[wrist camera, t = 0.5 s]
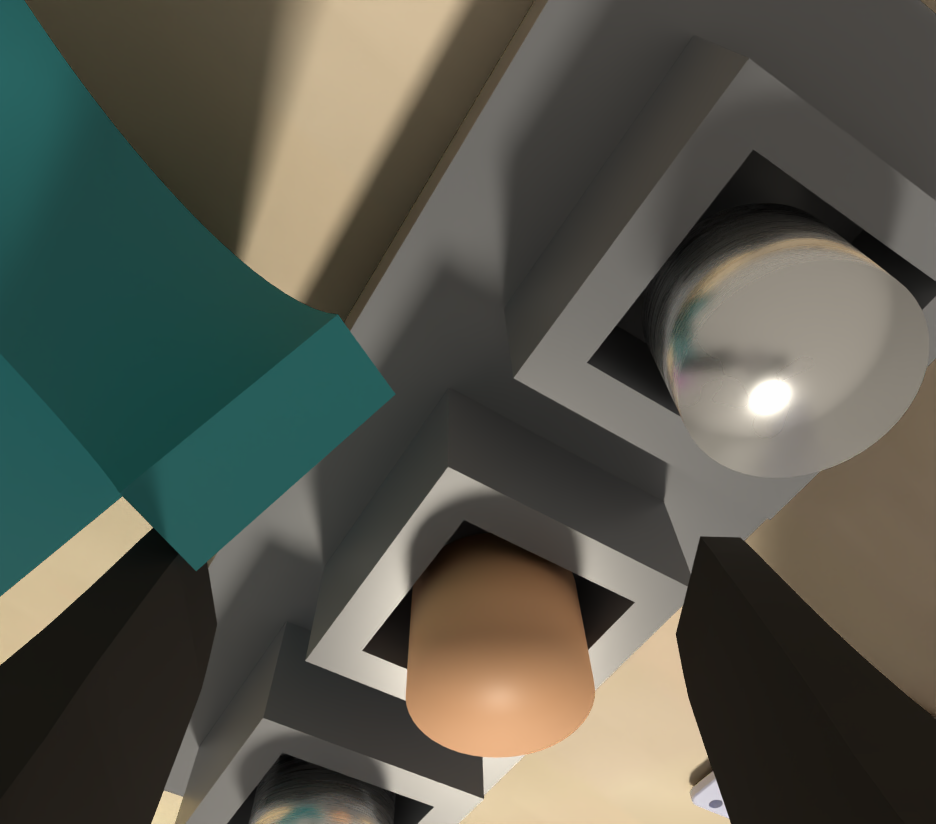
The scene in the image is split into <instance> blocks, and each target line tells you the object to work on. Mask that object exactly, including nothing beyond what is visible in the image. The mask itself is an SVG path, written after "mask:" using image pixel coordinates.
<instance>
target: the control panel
mask: <svg viewBox="0 0 936 824" xmlns="http://www.w3.org/2000/svg"><path fill="white" fill-rule="evenodd" d="M752 203H776V204H784V205H788V206H792V207H796V208H798V209H801V210H803V211H806V212H808V213H809V214H811V215H813V216H814V217H816V218H818V219H819V220H820V221H822V222H823V223H824V224H826V225H827V226H828V227H829V228H831V229H832V230H833V231H835V232H836V233H837V234H838V235H840V236H841V237H842V238H844V239H845V240H846V241H847V242H849V243H850V244H851V245H853V246H854V247H855V248H856V249H858V250H859V251H860V252H862V253H863V254H864V255H865V256H867V257H868V258H869V259H871V260H872V261H873V262H874V263H876V264H877V265H878V266H880V267H881V268H882V269H883V270H885V271H886V272H887V273H889V274H890V275H891V276H893V277H894V278H895V279H896V280H897V281H899V282H900V283H901V284H902V285H903V286H905V287H906V288H907V289H908V290H909V292H910V293H911V294H912V295H913V296H914V298H915V299H916V301H917V302H918V304H919V306H920V308H921V309H922V311H923V314H924V317H925V320H926V323H927V327H928V333H929V357H928V364H927V367H928V366H929V365H930V364H931V363H932V362H933V361H934V360H935V359H936V14H935V13H934V12H933V11H932V10H931V9H929V8H928V7H927V6H926V5H925V4H924V3H923V2H921V1H920V0H534V2H533V4H532V5H531V7H530V9H529V11H528V12H527V14H526V16H525V17H524V19H523V21H522V22H521V24H520V26H519V27H518V29H517V31H516V33H515V34H514V36H513V38H512V39H511V41H510V43H509V44H508V46H507V48H506V49H505V51H504V53H503V55H502V56H501V58H500V60H499V61H498V63H497V65H496V66H495V68H494V70H493V71H492V73H491V75H490V77H489V78H488V80H487V82H486V83H485V85H484V87H483V88H482V90H481V92H480V93H479V95H478V97H477V99H476V100H475V102H474V104H473V105H472V107H471V109H470V110H469V112H468V114H467V115H466V117H465V119H464V120H463V122H462V124H461V126H460V127H459V129H458V131H457V132H456V134H455V136H454V137H453V139H452V141H451V142H450V144H449V146H448V148H447V149H446V151H445V153H444V154H443V156H442V158H441V159H440V161H439V163H438V164H437V166H436V168H435V170H434V171H433V173H432V175H431V176H430V178H429V180H428V181H427V183H426V185H425V186H424V188H423V190H422V192H421V193H420V195H419V197H418V198H417V200H416V202H415V203H414V205H413V207H412V208H411V210H410V212H409V214H408V215H407V217H406V219H405V220H404V222H403V224H402V225H401V227H400V229H399V230H398V232H397V234H396V236H395V237H394V239H393V241H392V242H391V244H390V246H389V247H388V249H387V251H386V252H385V254H384V256H383V258H382V259H381V261H380V263H379V264H378V266H377V268H376V269H375V271H374V273H373V274H372V276H371V278H370V279H369V281H368V283H367V285H366V286H365V288H364V290H363V291H362V293H361V295H360V296H359V298H358V300H357V301H356V303H355V305H354V307H353V308H352V310H351V312H350V313H349V315H348V317H347V318H346V320H345V322H344V324H345V325H346V326H347V328H348V329H349V330H350V332H351V333H352V335H353V336H354V337H355V339H356V340H357V342H358V343H359V344H360V346H361V347H362V348H363V350H364V351H365V353H366V354H367V355H368V357H369V358H370V359H371V361H372V362H373V364H374V365H375V366H376V368H377V369H378V371H379V372H380V373H381V375H382V376H383V377H384V379H385V380H386V382H387V383H388V384H389V386H390V387H391V388H392V390H393V391H394V393H395V395H394V396H393V397H392V398H391V399H390V400H389V401H388V402H386V403H385V404H384V405H383V406H382V407H381V408H380V409H379V410H377V411H376V412H375V413H374V414H373V415H372V416H371V417H370V418H368V419H367V420H366V421H365V422H364V423H363V424H362V425H361V426H359V427H358V428H357V429H356V430H355V431H354V432H353V433H352V434H350V435H349V436H348V437H347V438H346V439H345V440H344V441H343V442H341V443H340V444H339V445H338V446H337V447H336V448H335V449H333V450H332V451H331V452H330V453H329V454H328V455H327V456H326V457H324V458H323V459H322V460H321V461H320V462H319V463H318V464H317V465H315V466H314V467H313V468H312V469H311V470H310V471H309V472H308V473H306V474H305V475H304V476H303V477H302V478H301V479H300V480H299V481H297V482H296V483H295V484H294V485H293V486H292V487H291V488H290V489H288V490H287V491H286V492H285V493H284V494H283V495H282V496H280V497H279V498H278V499H277V500H276V501H275V502H274V503H273V504H271V505H270V506H269V507H268V508H267V509H266V510H265V511H264V512H262V513H261V514H260V515H259V516H258V517H257V518H256V519H255V520H253V521H252V522H251V523H250V524H249V525H248V526H247V527H246V528H244V529H243V530H242V531H241V532H240V533H239V534H238V535H237V536H235V537H234V538H233V539H232V540H231V541H230V542H229V543H228V544H226V545H225V546H224V547H223V548H222V549H221V550H220V551H218V552H217V553H216V554H215V555H214V556H213V557H212V558H211V559H209V560H208V561H207V563H208V570H209V576H210V582H211V588H212V594H213V601H214V607H215V613H216V619H217V628H216V632H215V637H214V641H213V645H212V650H211V654H210V658H209V662H208V666H207V670H206V674H205V678H204V682H203V686H202V690H201V692H200V695H199V698H198V701H197V703H196V706H195V709H194V711H193V714H192V717H191V720H190V722H189V725H188V728H187V730H186V733H185V736H184V738H183V741H182V744H181V746H180V749H179V751H178V754H177V757H176V759H175V762H174V765H173V767H172V770H171V772H170V775H169V778H168V780H167V783H166V786H165V788H164V790H165V791H168V792H171V793H174V794H177V795H180V796H183V800H182V803H181V806H180V809H179V812H178V816H177V819H176V822H175V824H249V820H250V815H251V811H252V807H253V802H254V798H255V794H256V790H257V785H258V783H259V782H260V781H261V780H262V778H263V777H264V776H265V774H266V773H267V772H268V771H269V769H270V768H271V767H272V765H273V764H274V763H275V762H276V760H277V759H278V758H279V757H280V756H283V755H285V754H288V755H291V756H293V757H296V758H299V759H302V760H305V761H307V762H310V763H313V764H316V765H319V766H321V767H324V768H327V769H330V770H333V771H335V772H338V773H341V774H344V775H347V776H349V777H352V778H355V779H358V780H361V781H364V782H366V783H369V784H372V785H375V786H378V787H380V788H383V789H386V790H389V791H392V792H394V793H396V794H395V809H394V824H459V823H460V822H461V821H462V820H463V819H464V818H465V817H466V816H467V815H468V814H469V813H470V812H471V811H472V810H473V809H474V808H475V807H476V806H477V805H478V804H479V803H480V802H482V801H483V800H484V795H485V794H486V793H487V792H488V791H489V790H490V789H491V788H492V787H493V786H494V785H495V784H496V783H497V782H498V781H499V780H500V779H501V778H502V777H503V776H504V775H505V774H506V773H508V772H509V771H510V770H511V769H512V768H513V767H514V766H515V765H516V764H517V763H518V762H519V761H520V760H521V759H522V758H523V757H524V756H525V755H521V756H514V757H500V758H493V757H480V756H472V755H468V754H464V753H460V752H457V751H454V750H451V749H449V748H446V747H444V746H442V745H440V744H438V743H437V742H435V741H433V740H432V739H430V738H429V737H428V736H426V735H425V734H424V733H423V732H422V731H421V730H420V729H419V728H418V727H417V725H416V724H415V723H414V721H413V720H412V718H411V716H410V714H409V712H408V708H407V705H406V682H407V666H408V650H409V635H410V619H411V603H412V590H413V585H414V584H415V582H416V581H417V580H418V578H419V577H420V576H421V575H422V573H423V572H424V571H425V569H426V568H427V567H428V566H429V564H430V563H431V562H432V561H433V559H434V558H435V557H436V555H437V554H438V553H439V552H440V550H441V549H442V548H443V547H444V546H445V545H447V544H449V543H451V542H453V541H455V540H458V539H461V538H464V537H467V536H471V535H475V534H482V533H492V534H494V535H496V536H498V537H500V538H502V539H505V540H507V541H509V542H511V543H513V544H515V545H517V546H519V547H521V548H523V549H525V550H527V551H529V552H532V553H534V554H536V555H538V556H540V557H542V558H544V559H546V560H548V561H550V562H552V563H554V564H557V565H559V566H561V567H563V568H565V569H567V570H569V571H571V572H572V573H573V576H574V579H575V583H576V588H577V593H578V599H579V604H580V609H581V615H582V620H583V625H584V631H585V636H586V641H587V647H588V652H589V657H590V663H591V668H592V673H593V679H594V685H595V690H596V689H597V688H598V687H599V686H600V685H602V684H603V683H604V682H605V681H606V680H607V679H608V678H609V677H610V676H611V675H612V674H613V673H614V672H615V671H616V670H617V669H618V668H619V667H620V666H621V665H622V664H623V663H624V662H625V661H626V660H627V659H628V658H629V657H630V656H631V655H632V654H633V653H634V652H635V651H636V650H637V649H638V648H639V647H641V646H642V645H643V644H644V643H645V642H646V641H647V640H648V639H649V638H650V637H651V636H652V635H653V634H654V633H655V632H656V631H657V630H658V629H659V628H660V627H661V626H662V625H663V624H664V623H665V622H666V621H667V620H668V619H669V618H670V617H671V616H672V615H673V614H674V613H675V612H676V611H677V610H678V609H679V608H681V607H682V606H683V603H684V599H685V595H686V591H687V587H688V583H689V579H690V575H691V571H692V567H693V563H694V559H695V555H696V551H697V547H698V543H699V539H700V536H707V537H740V538H742V539H743V540H744V541H745V540H746V539H747V538H748V537H749V536H750V535H751V534H752V533H753V532H754V531H755V530H756V529H757V528H758V527H759V526H760V525H761V524H762V523H763V522H764V521H765V520H766V519H767V518H768V519H770V520H771V519H772V518H773V517H774V516H775V515H776V514H777V513H778V512H779V511H780V510H781V509H782V508H783V507H784V506H785V505H786V504H787V503H788V502H789V501H790V500H791V499H792V498H793V497H794V496H795V495H796V494H797V493H798V492H800V491H801V490H802V489H803V488H804V487H805V486H806V485H807V484H808V483H809V482H810V481H811V480H812V479H813V478H814V477H815V476H816V475H817V474H818V473H819V472H820V471H819V472H815V473H811V474H807V475H802V476H795V477H786V478H768V477H758V476H752V475H747V474H743V473H740V472H737V471H734V470H732V469H729V468H727V467H725V466H723V465H721V464H719V463H718V462H716V461H715V460H713V459H712V458H710V457H709V456H708V455H707V454H706V453H705V452H704V451H702V450H701V449H700V448H699V446H698V445H697V444H696V443H695V441H694V440H693V439H692V437H691V435H690V434H689V432H688V430H687V428H686V426H685V424H684V422H683V420H682V418H681V416H680V414H679V412H678V409H677V407H676V405H675V403H674V401H673V399H672V397H671V395H670V393H669V390H668V388H667V386H666V384H665V382H664V380H663V378H662V376H661V373H660V371H659V369H658V367H657V365H656V363H655V361H654V359H653V356H652V354H651V352H650V350H649V348H648V345H647V343H646V340H645V337H644V332H643V327H642V305H643V298H644V294H645V290H646V287H647V285H648V284H649V283H650V281H651V280H652V279H653V277H654V276H655V275H656V274H657V272H658V271H659V270H660V268H661V267H662V266H663V265H664V263H665V262H666V261H667V260H668V258H669V257H670V256H671V254H672V253H673V252H674V251H675V249H676V248H677V247H678V245H679V244H680V243H681V242H682V240H683V239H684V238H685V236H686V235H687V234H688V233H689V231H690V230H691V229H692V228H693V226H694V225H695V224H697V223H698V222H700V221H702V220H704V219H705V218H707V217H709V216H711V215H713V214H716V213H718V212H720V211H723V210H725V209H729V208H732V207H736V206H739V205H745V204H752Z"/></svg>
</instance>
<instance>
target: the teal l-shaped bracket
mask: <svg viewBox="0 0 936 824" xmlns="http://www.w3.org/2000/svg"><path fill="white" fill-rule="evenodd" d="M394 395H395V393H394V391H393V390H392V388H391V387H390V386H389V384H388V383H387V382H386V380H385V379H384V377H383V376H382V375H381V373H380V372H379V371H378V369H377V368H376V366H375V365H374V364H373V362H372V361H371V359H370V358H369V357H368V355H367V354H366V353H365V351H364V350H363V348H362V347H361V346H360V344H359V343H358V342H357V340H356V339H355V337H354V336H353V335H352V333H351V332H350V330H349V329H348V328H347V326H346V325H345V324H344V322H343V321H342V319H341V318H340V317H339V315H338V314H332V313H326V312H323V311H320V310H317V309H314V308H312V307H309V306H307V305H305V304H303V303H301V302H299V301H297V300H295V299H294V298H292V297H290V296H289V295H287V294H285V293H284V292H282V291H281V290H279V289H278V288H276V287H275V286H273V285H272V284H270V283H269V282H268V281H266V280H265V279H264V278H262V277H261V276H260V275H258V274H257V273H256V272H254V271H253V270H252V269H251V268H250V267H248V266H247V265H246V264H245V263H244V262H242V261H241V260H240V259H239V258H238V257H236V256H235V255H234V254H233V253H232V252H231V251H230V250H229V249H228V248H226V247H225V246H224V245H223V244H222V243H221V242H220V241H219V240H218V239H217V238H216V237H215V236H214V235H213V234H212V233H210V232H209V231H208V230H207V229H206V228H205V227H204V226H203V225H202V224H201V223H200V222H199V221H198V220H197V219H196V218H195V217H194V216H193V215H192V214H191V212H190V211H189V210H188V209H187V208H186V207H185V206H184V205H183V204H182V203H181V202H180V201H179V200H178V199H177V198H176V197H175V196H174V194H173V193H172V192H171V191H170V190H169V189H168V188H167V187H166V186H165V185H164V183H163V182H162V181H161V180H160V179H159V178H158V177H157V176H156V174H155V173H154V172H153V171H152V170H151V169H150V168H149V166H148V165H147V164H146V163H145V162H144V161H143V159H142V158H141V157H140V156H139V155H138V153H137V152H136V151H135V150H134V149H133V147H132V146H131V145H130V144H129V143H128V141H127V140H126V139H125V138H124V136H123V135H122V134H121V133H120V131H119V130H118V129H117V128H116V127H115V125H114V124H113V123H112V122H111V120H110V119H109V118H108V116H107V115H106V114H105V113H104V111H103V110H102V109H101V107H100V106H99V105H98V103H97V102H96V101H95V100H94V98H93V97H92V96H91V94H90V93H89V92H88V90H87V89H86V88H85V86H84V85H83V84H82V82H81V81H80V80H79V78H78V77H77V75H76V74H75V73H74V71H73V70H72V69H71V67H70V66H69V64H68V63H67V62H66V60H65V59H64V57H63V56H62V55H61V53H60V52H59V50H58V49H57V48H56V46H55V45H54V43H53V42H52V40H51V39H50V38H49V36H48V35H47V33H46V32H45V30H44V29H43V27H42V26H41V24H40V23H39V22H38V20H37V19H36V17H35V16H34V14H33V13H32V11H31V10H30V8H29V7H28V5H27V3H26V2H25V0H0V596H1V595H3V594H4V593H5V592H6V591H8V590H9V589H10V588H11V587H12V586H14V585H15V584H16V583H17V582H19V581H20V580H21V579H22V578H23V577H25V576H26V575H27V574H28V573H29V572H31V571H32V570H33V569H34V568H36V567H37V566H38V565H39V564H40V563H42V562H43V561H44V560H45V559H47V558H48V557H49V556H50V555H51V554H53V553H54V552H55V551H56V550H58V549H59V548H60V547H61V546H62V545H64V544H65V543H66V542H67V541H69V540H70V539H71V538H72V537H73V536H75V535H76V534H77V533H78V532H79V531H81V530H82V529H83V528H84V527H86V526H87V525H88V524H89V523H90V522H92V521H93V520H94V519H95V518H97V517H98V516H99V515H100V514H101V513H103V512H104V511H105V510H106V509H108V508H109V507H110V506H111V505H112V504H114V503H115V502H116V501H117V500H119V499H120V498H121V497H122V496H123V497H124V498H125V499H126V500H127V501H128V502H129V503H130V504H131V505H132V506H133V507H134V508H135V509H136V510H137V511H138V512H139V513H140V514H141V515H142V516H143V518H144V519H145V520H146V521H147V522H148V523H149V524H150V525H151V526H152V527H153V528H154V529H155V530H156V531H157V532H158V533H159V534H160V535H161V536H162V537H163V538H164V539H165V540H166V541H167V542H168V543H169V544H170V545H171V546H172V547H173V548H174V549H175V550H176V551H177V552H178V553H179V554H180V555H181V556H182V557H183V558H184V559H185V560H186V561H187V562H188V563H189V564H190V565H191V567H192V568H193V569H194V570H195V571H197V570H198V569H199V568H200V567H202V566H203V565H204V564H205V563H206V562H207V561H208V560H209V559H211V558H212V557H213V556H214V555H215V554H216V553H217V552H218V551H220V550H221V549H222V548H223V547H224V546H225V545H226V544H228V543H229V542H230V541H231V540H232V539H233V538H234V537H235V536H237V535H238V534H239V533H240V532H241V531H242V530H243V529H244V528H246V527H247V526H248V525H249V524H250V523H251V522H252V521H253V520H255V519H256V518H257V517H258V516H259V515H260V514H261V513H262V512H264V511H265V510H266V509H267V508H268V507H269V506H270V505H271V504H273V503H274V502H275V501H276V500H277V499H278V498H279V497H280V496H282V495H283V494H284V493H285V492H286V491H287V490H288V489H290V488H291V487H292V486H293V485H294V484H295V483H296V482H297V481H299V480H300V479H301V478H302V477H303V476H304V475H305V474H306V473H308V472H309V471H310V470H311V469H312V468H313V467H314V466H315V465H317V464H318V463H319V462H320V461H321V460H322V459H323V458H324V457H326V456H327V455H328V454H329V453H330V452H331V451H332V450H333V449H335V448H336V447H337V446H338V445H339V444H340V443H341V442H343V441H344V440H345V439H346V438H347V437H348V436H349V435H350V434H352V433H353V432H354V431H355V430H356V429H357V428H358V427H359V426H361V425H362V424H363V423H364V422H365V421H366V420H367V419H368V418H370V417H371V416H372V415H373V414H374V413H375V412H376V411H377V410H379V409H380V408H381V407H382V406H383V405H384V404H385V403H386V402H388V401H389V400H390V399H391V398H392V397H393V396H394Z"/></svg>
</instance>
